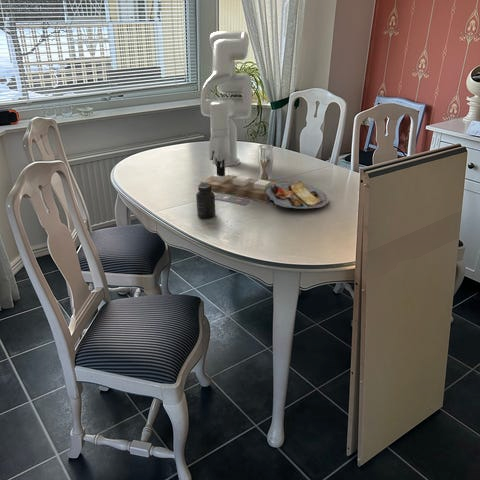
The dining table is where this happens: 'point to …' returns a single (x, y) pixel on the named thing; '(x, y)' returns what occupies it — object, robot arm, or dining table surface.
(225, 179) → the left button
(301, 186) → the food plate
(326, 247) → the dining table surface
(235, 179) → the middle button
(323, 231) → the dining table surface
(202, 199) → the supplement bottle
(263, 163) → the beer glass
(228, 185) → the button board
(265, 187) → the right button
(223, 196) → the pattern card
